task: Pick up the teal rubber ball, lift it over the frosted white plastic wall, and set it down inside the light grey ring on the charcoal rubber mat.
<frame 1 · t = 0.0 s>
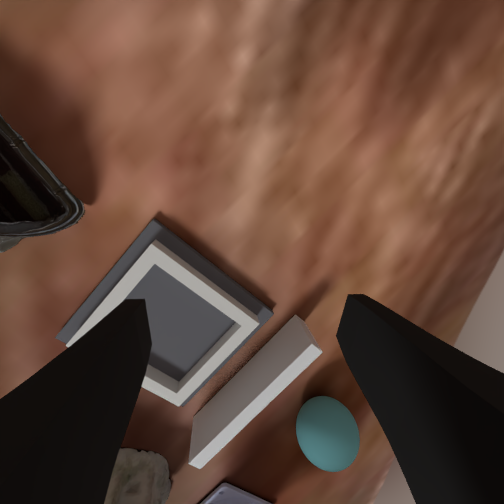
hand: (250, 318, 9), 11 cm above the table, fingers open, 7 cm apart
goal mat: (171, 321, 20), on the table
ball: (326, 430, 22), point 3 cm above the table
wall: (247, 370, 22), on the table
jagged rock: (91, 500, 25), on the table
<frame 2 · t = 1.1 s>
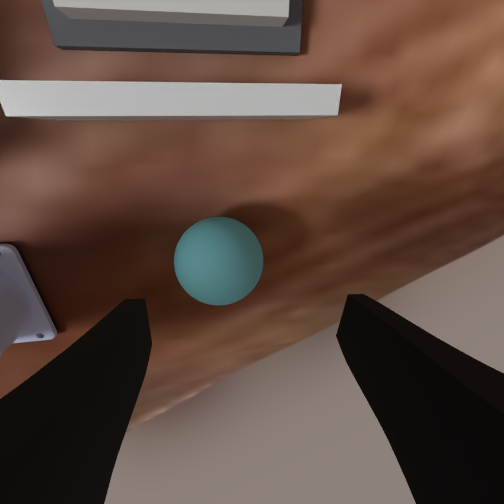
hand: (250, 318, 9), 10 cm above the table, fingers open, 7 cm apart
ball: (219, 260, 15), point 3 cm above the table
wall: (191, 108, 14), on the table
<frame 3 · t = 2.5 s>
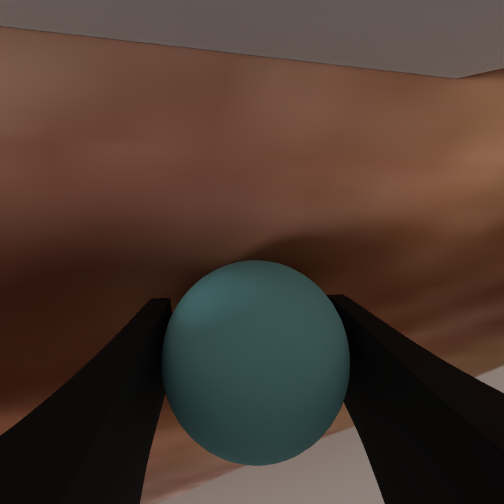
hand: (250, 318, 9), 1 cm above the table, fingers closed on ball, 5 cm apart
ball: (255, 348, 8), point 3 cm above the table, touching gripper
wall: (225, 22, 6), on the table
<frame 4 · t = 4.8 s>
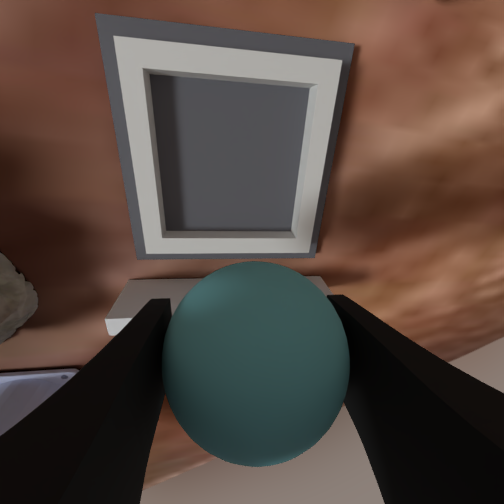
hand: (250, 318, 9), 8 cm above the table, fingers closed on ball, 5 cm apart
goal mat: (231, 164, 14), on the table
ball: (255, 349, 8), point 10 cm above the table, touching gripper
wall: (229, 284, 18), on the table
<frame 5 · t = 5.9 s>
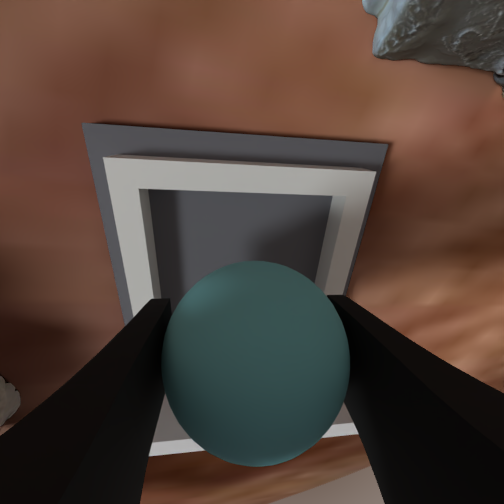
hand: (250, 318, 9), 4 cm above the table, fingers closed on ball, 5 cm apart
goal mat: (240, 262, 13), on the table
ball: (255, 348, 8), point 6 cm above the table, touching gripper
wall: (235, 373, 16), on the table
when the fingers open (3 cm above the table, at t = 7.0 s): ball drops 1 cm, resting on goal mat.
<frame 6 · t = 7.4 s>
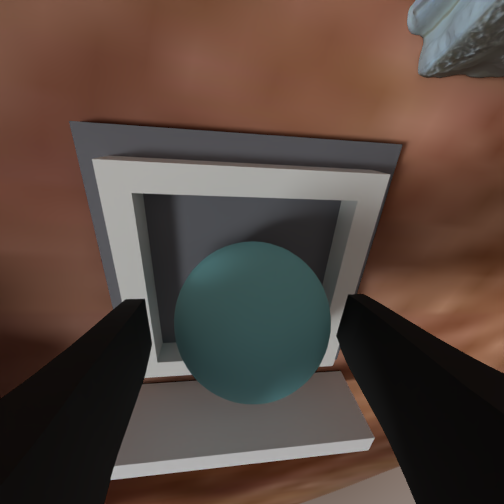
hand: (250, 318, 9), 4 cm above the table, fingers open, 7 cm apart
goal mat: (242, 269, 12), on the table
ball: (252, 316, 9), point 3 cm above the table, touching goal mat
wall: (236, 384, 16), on the table
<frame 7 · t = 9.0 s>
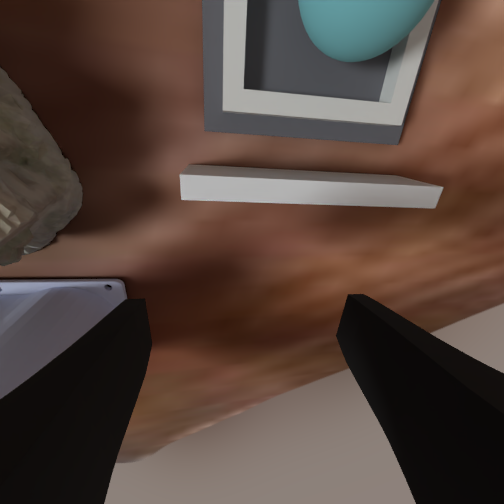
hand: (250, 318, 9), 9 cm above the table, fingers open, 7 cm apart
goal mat: (322, 9, 12), on the table
wall: (297, 179, 16), on the table
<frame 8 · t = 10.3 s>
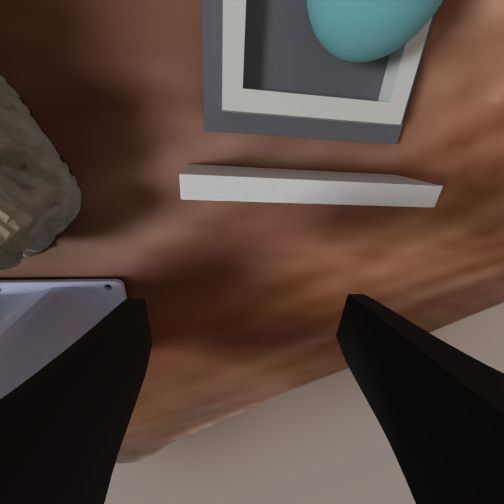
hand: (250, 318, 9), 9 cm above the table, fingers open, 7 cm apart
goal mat: (321, 8, 12), on the table
wall: (297, 179, 16), on the table
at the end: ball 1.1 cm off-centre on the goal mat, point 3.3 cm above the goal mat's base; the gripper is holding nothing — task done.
